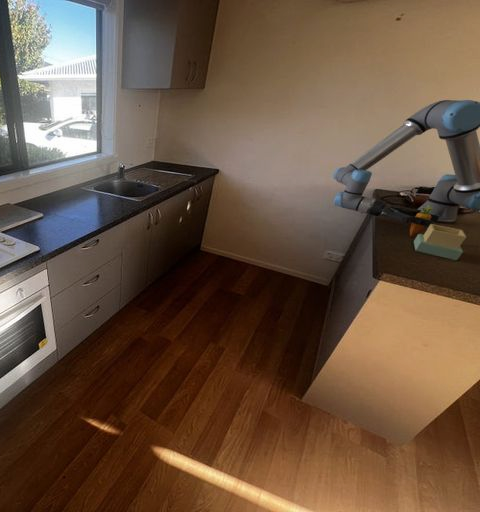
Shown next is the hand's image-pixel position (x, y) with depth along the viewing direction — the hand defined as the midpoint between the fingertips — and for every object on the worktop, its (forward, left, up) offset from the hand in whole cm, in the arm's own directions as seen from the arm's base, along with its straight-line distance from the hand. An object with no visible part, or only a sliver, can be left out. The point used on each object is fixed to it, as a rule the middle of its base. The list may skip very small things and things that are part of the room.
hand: (435, 221), depth 127 cm
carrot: (+2, -4, -9) cm, 10 cm away
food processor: (+8, +9, -9) cm, 15 cm away
